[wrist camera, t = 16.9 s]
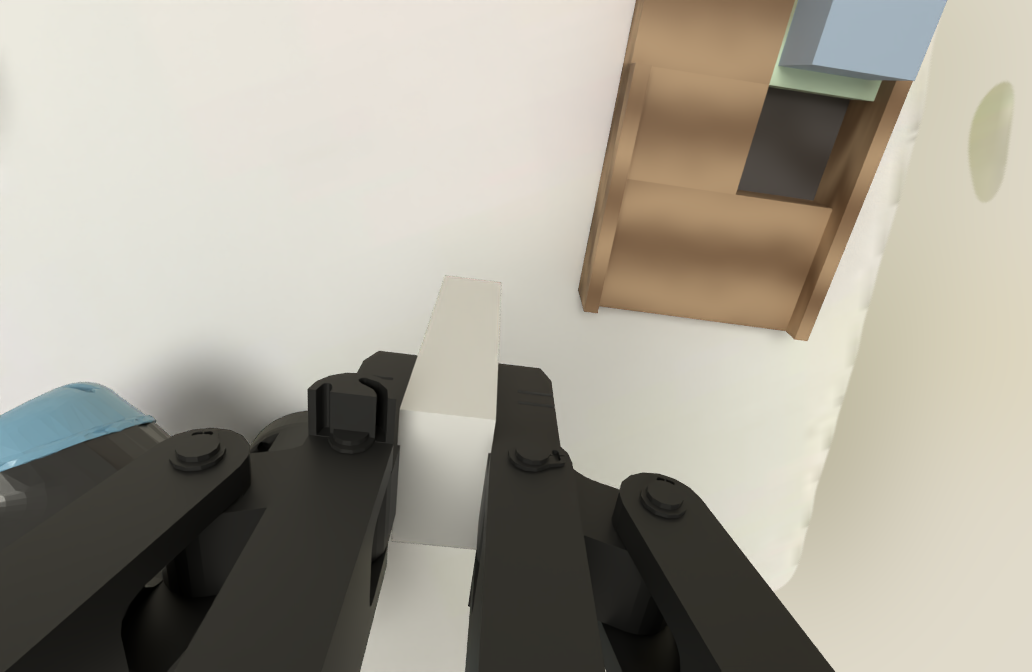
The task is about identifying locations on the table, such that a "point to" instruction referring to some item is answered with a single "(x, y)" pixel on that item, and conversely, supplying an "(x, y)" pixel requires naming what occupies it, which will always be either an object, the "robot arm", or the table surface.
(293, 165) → the table surface
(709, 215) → the wooden tray
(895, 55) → the block
